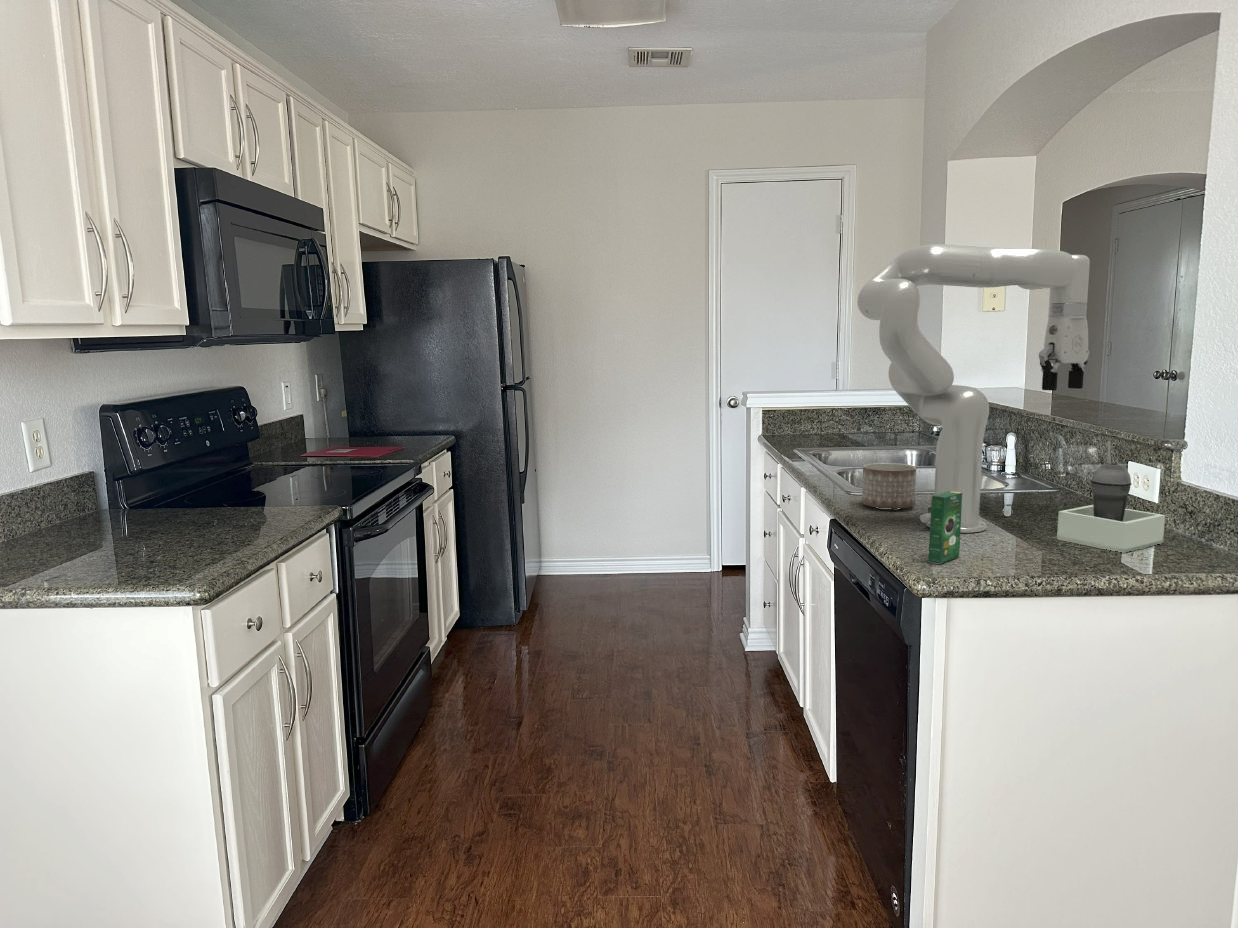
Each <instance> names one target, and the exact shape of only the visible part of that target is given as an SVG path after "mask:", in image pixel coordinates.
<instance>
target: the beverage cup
mask: <svg viewBox="0 0 1238 928" xmlns="http://www.w3.org/2000/svg"><path fill="white" fill-rule="evenodd" d="M1106 447H1107V463H1104V464H1102V465H1100V466H1099V467H1097V468H1096V469H1095V470H1094V472H1093V474H1092V476H1091V480H1090V483H1091V491H1092V499H1093V501H1092V502H1093V504H1092V505H1093V512H1094V517H1099V518H1105V519H1110V520H1116V521H1122V522H1123V518H1124V513H1125V509H1126V507H1127V501H1128V495H1129V494H1130V490H1131V486H1132V484H1133V483H1132V481H1131V474H1130V473H1129V471H1128V470H1127V468H1126V467H1125V466H1123V465H1121V464H1119V463H1115V462H1114V463H1113V462H1111V461H1112V460H1111V457H1112V456H1111V441H1110V440H1107V441H1106Z"/></svg>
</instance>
